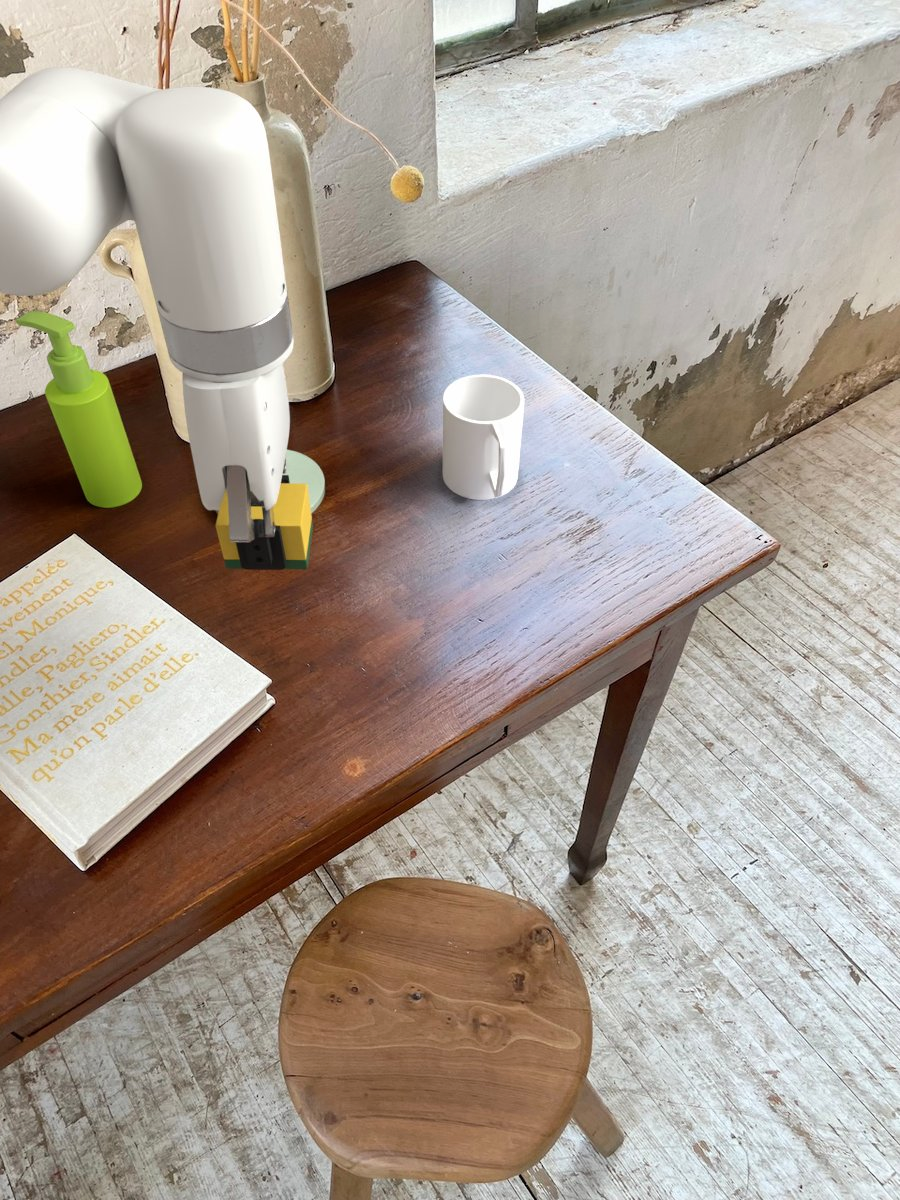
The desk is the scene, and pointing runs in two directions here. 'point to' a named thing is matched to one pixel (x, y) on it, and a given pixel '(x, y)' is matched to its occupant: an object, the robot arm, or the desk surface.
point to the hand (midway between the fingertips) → (268, 539)
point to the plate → (305, 476)
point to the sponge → (288, 515)
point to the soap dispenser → (87, 417)
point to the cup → (482, 436)
